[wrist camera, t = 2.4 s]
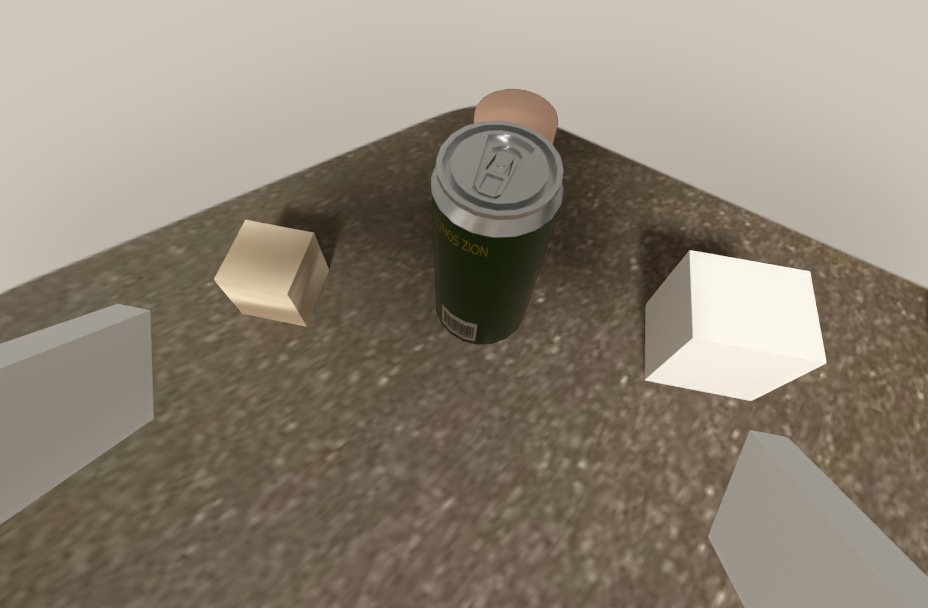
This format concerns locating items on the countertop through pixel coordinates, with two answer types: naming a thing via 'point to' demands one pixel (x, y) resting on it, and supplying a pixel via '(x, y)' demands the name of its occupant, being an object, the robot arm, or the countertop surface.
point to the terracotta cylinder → (519, 111)
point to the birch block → (274, 272)
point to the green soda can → (491, 225)
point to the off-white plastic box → (732, 327)
